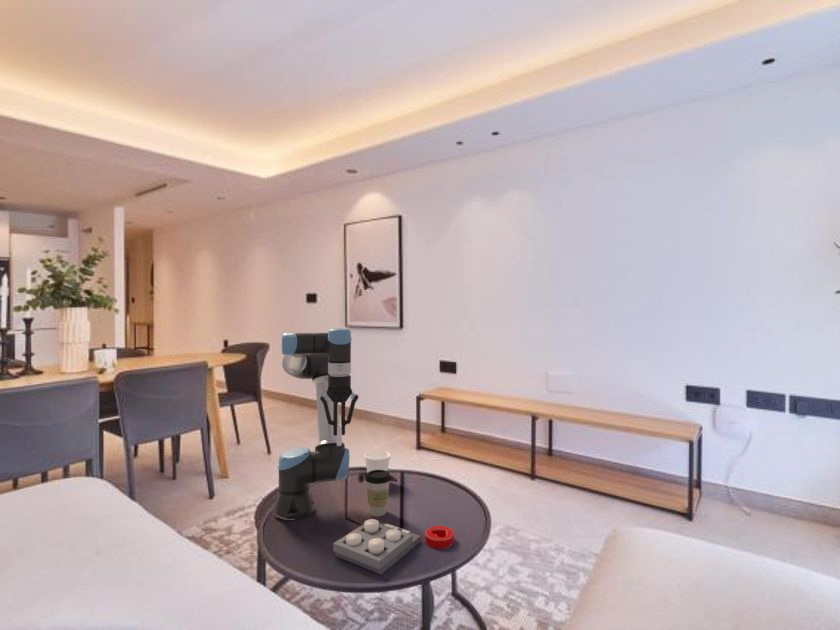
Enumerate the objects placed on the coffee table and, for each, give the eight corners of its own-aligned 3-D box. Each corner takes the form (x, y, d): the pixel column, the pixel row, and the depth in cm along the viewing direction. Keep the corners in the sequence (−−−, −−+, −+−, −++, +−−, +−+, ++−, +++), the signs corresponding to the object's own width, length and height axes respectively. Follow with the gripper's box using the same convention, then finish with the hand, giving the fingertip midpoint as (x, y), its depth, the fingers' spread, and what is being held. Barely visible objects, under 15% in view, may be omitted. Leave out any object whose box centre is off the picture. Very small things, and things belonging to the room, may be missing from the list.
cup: (380, 490, 196) (380, 461, 195) (358, 483, 202) (358, 456, 201) (395, 480, 206) (395, 453, 205) (374, 475, 212) (374, 448, 212)
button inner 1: (342, 547, 145) (342, 538, 144) (352, 540, 149) (352, 531, 149) (354, 552, 142) (354, 542, 142) (364, 545, 146) (364, 535, 146)
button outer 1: (365, 553, 140) (365, 543, 140) (374, 546, 144) (374, 536, 144) (377, 557, 137) (377, 548, 137) (387, 550, 141) (387, 541, 141)
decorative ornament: (457, 538, 157) (457, 528, 157) (447, 551, 148) (448, 542, 148) (431, 532, 161) (431, 523, 161) (420, 545, 152) (420, 536, 152)
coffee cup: (386, 519, 169) (387, 479, 169) (361, 517, 171) (361, 477, 170) (393, 508, 179) (393, 470, 178) (369, 505, 181) (369, 468, 180)
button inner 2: (361, 532, 152) (361, 523, 152) (370, 526, 156) (370, 517, 156) (372, 536, 150) (372, 527, 149) (381, 530, 154) (381, 521, 154)
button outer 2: (382, 543, 147) (383, 534, 147) (391, 536, 151) (391, 527, 151) (395, 547, 145) (395, 538, 145) (403, 540, 149) (403, 531, 149)
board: (333, 557, 144) (333, 543, 144) (378, 527, 163) (378, 514, 163) (378, 576, 134) (379, 561, 134) (420, 541, 154) (420, 528, 154)
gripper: (319, 377, 148) (319, 449, 149) (360, 376, 151) (359, 446, 152) (319, 373, 155) (319, 442, 156) (358, 372, 158) (357, 440, 159)
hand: (339, 444), depth 154 cm, fingers closed
